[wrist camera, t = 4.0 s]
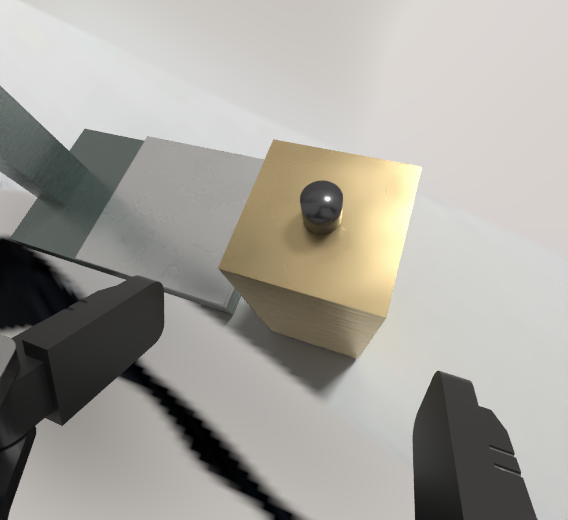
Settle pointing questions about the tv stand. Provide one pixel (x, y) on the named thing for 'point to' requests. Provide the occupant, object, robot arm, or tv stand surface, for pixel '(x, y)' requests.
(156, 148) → the arbor press
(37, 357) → the robot arm
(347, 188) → the block
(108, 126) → the tv stand surface
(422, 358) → the tv stand surface
